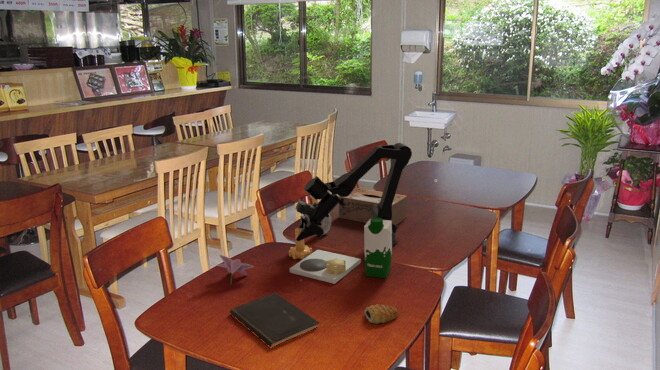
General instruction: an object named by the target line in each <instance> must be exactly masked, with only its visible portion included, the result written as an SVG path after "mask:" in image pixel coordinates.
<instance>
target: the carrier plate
mask: <svg viewBox="0 0 660 370" xmlns="http://www.w3.org/2000/svg"><path fill="white" fill-rule="evenodd" d="M361 262H362V259H361V258H358V257H353V256H349V255H345V254H341V253H334V252H330V251H327V250H326V251H325V250H321V249H316V250H315V251H314V252H313V251H312V254H310V255H309V256H307V257H306V258H304V259H302V260H299V262H297V263H296V264H294V265H293V266H291V267H290V268H289V273H291V274H294V275H298V276H301V277H306V278H310V279H314V280H318V281H323V282H326V283H330V284H334V285H335V284H336V283H337V282H339V281H340V280H341V279H343V278H344V277H346V275H348V274H349V273H350V272H351V271H352V270H354V269H355V268H356V267H358V266H359V265H360V264H361Z"/></svg>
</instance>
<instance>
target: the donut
mask: <svg viewBox="0 0 660 370" xmlns="http://www.w3.org/2000/svg"><path fill="white" fill-rule="evenodd" d="M331 225H332V217H331V215H330V213H329V217H328V218H327V217H326V218H325V219H324V220H323V221H322V225H321V227H322V228H323V230H324V234H323V235H322V236H324V235H326V234H327V233H328V232H329V230H330V229H331Z"/></svg>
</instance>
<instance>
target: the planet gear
mask: <svg viewBox="0 0 660 370" xmlns="http://www.w3.org/2000/svg"><path fill="white" fill-rule="evenodd" d="M302 229H303V228H298V227H296V228H295V229H294V235H295V236H294V238H295V246H291V247H289V250H288V256H289V258H290V257H292V260H297V259H301V260H303V259H304V258H306V257H307V256H309V255H310V254H312V253H313V248H312V247H309V245H307V244H306V245H305V239H303V240H300V241H297V240H296V238H297V237H298V235H299V234H300V232H301V231H302ZM301 260H300V261H301Z"/></svg>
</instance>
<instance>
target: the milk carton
mask: <svg viewBox="0 0 660 370" xmlns="http://www.w3.org/2000/svg"><path fill="white" fill-rule="evenodd" d="M363 228H364V229H363V230H364V231H363V234H364V237H363V238H364V239H363V240H364V241H363V243H364V244H363V245H364V247H363V248H364V267H365V277H373V278H381V279H387V278H388V276H389V273H390V271H391V268H392V261H393V259H392V257H393V247H392V221H391V220H383V219H381V218H372V219H370V220H369V221H368V222H367V223H365V225H364V226H363Z"/></svg>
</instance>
